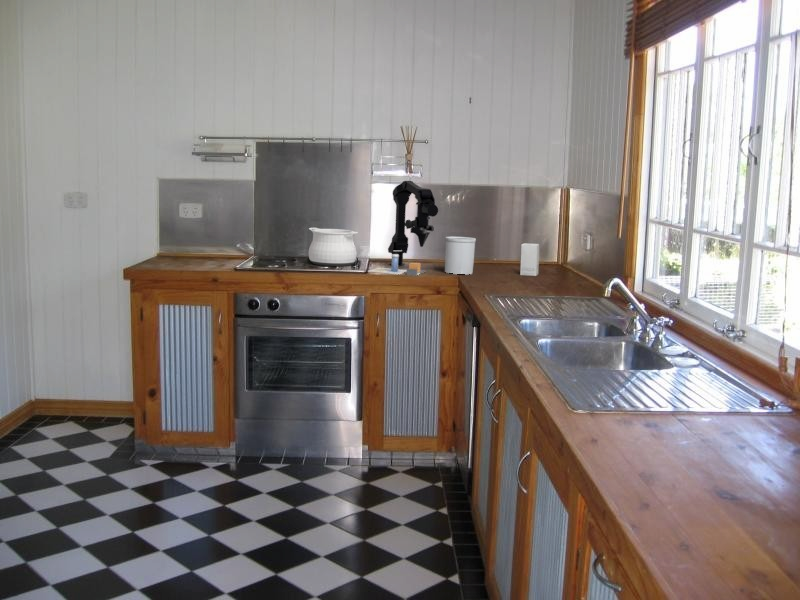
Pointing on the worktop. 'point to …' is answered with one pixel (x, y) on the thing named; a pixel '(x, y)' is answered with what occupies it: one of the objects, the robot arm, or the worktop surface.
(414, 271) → the switch base
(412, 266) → the orange cube
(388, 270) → the sheet
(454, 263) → the utensil holder
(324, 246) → the pot
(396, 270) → the marker
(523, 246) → the skincare box
